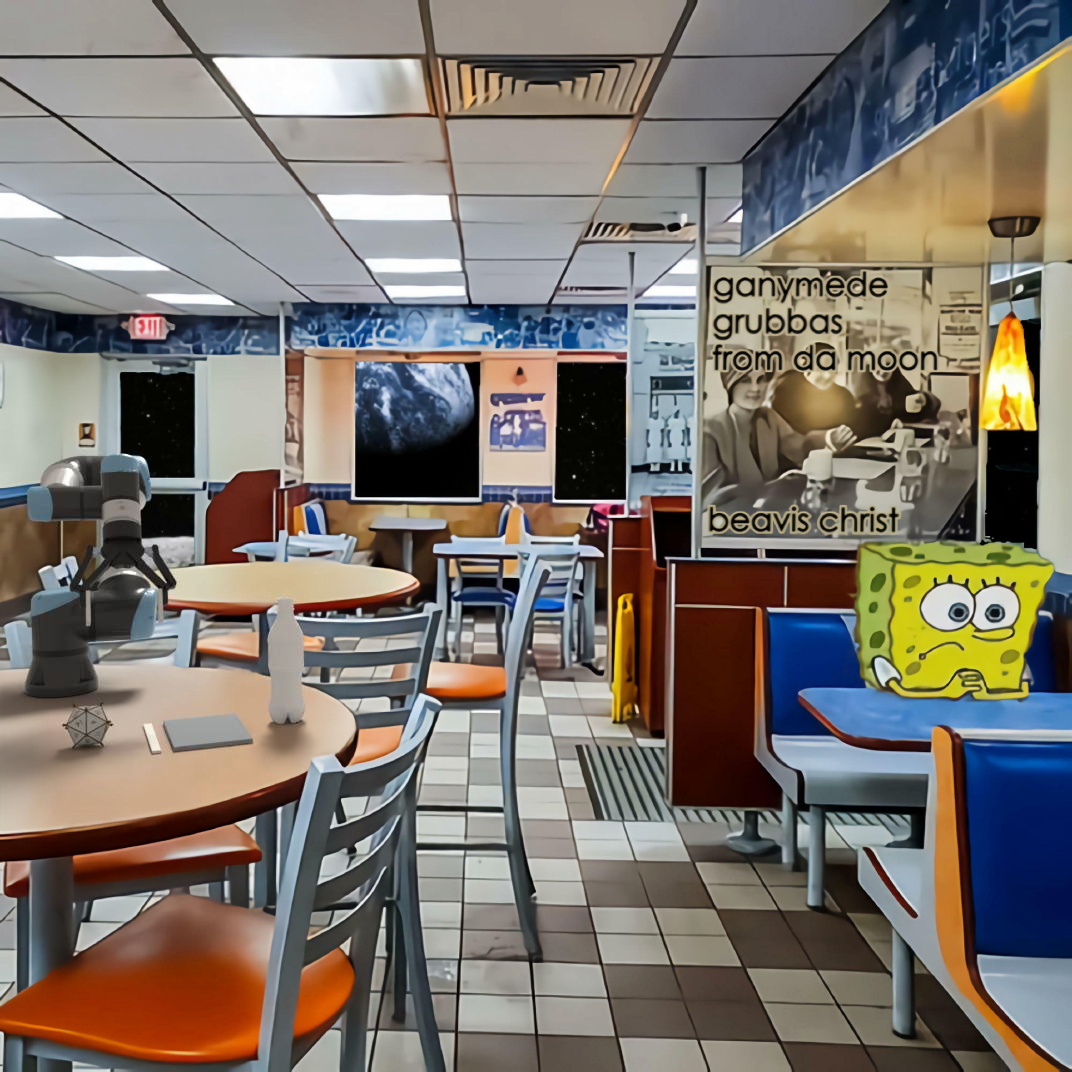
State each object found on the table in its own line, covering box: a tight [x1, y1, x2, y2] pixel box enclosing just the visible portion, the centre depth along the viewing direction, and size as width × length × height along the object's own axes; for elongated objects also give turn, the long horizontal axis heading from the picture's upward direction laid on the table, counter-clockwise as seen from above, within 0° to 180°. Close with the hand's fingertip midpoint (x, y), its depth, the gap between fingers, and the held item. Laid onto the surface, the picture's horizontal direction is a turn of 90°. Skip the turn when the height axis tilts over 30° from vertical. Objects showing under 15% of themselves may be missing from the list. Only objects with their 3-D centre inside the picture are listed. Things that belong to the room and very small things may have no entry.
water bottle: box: [267, 596, 306, 725], centre depth 212 cm, size 7×7×25 cm
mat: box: [163, 713, 254, 752], centre depth 203 cm, size 20×14×1 cm
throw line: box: [143, 722, 162, 755], centre depth 199 cm, size 20×2×1 cm, turn 25°
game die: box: [61, 700, 114, 750], centre depth 194 cm, size 9×8×10 cm
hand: (125, 622), depth 212 cm, fingers open, 13 cm apart
